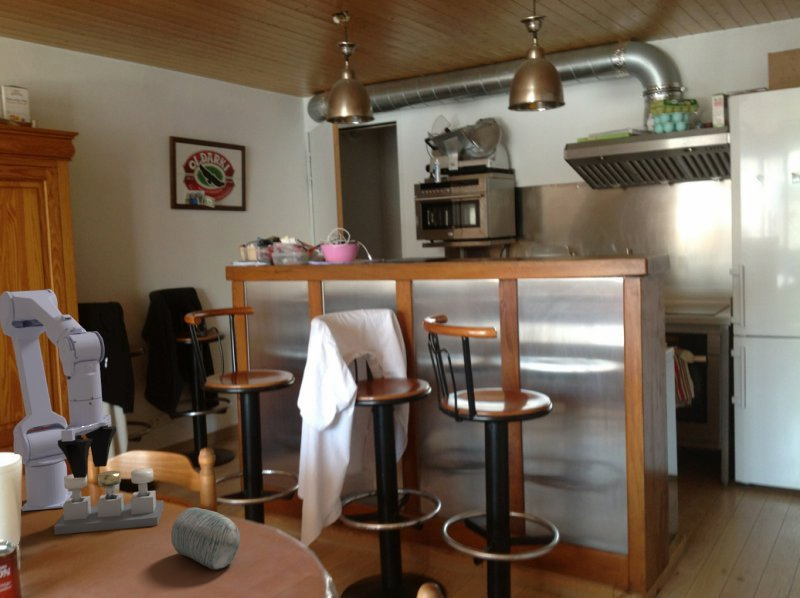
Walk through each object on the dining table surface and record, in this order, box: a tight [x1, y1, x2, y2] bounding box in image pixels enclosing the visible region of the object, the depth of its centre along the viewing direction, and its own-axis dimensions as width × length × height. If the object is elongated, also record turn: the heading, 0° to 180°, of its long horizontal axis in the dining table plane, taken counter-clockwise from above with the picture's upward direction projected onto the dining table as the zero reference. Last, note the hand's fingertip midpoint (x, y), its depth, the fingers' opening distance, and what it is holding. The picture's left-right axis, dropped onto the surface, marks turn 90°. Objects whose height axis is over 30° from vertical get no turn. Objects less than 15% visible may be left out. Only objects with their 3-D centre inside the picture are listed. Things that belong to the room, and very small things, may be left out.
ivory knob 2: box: [130, 467, 154, 497], centre depth 145 cm, size 4×4×5 cm
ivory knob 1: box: [64, 473, 89, 503], centre depth 143 cm, size 4×4×5 cm
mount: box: [53, 490, 164, 536], centre depth 144 cm, size 10×18×4 cm, turn 101°
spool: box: [170, 507, 241, 571], centre depth 124 cm, size 14×10×10 cm
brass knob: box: [97, 470, 122, 500], centre depth 144 cm, size 4×4×5 cm
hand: (90, 471), depth 140 cm, fingers open, 7 cm apart
